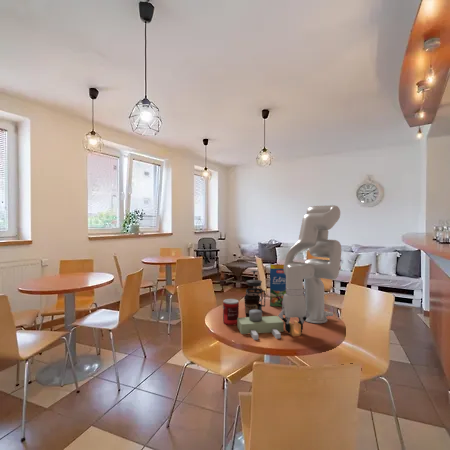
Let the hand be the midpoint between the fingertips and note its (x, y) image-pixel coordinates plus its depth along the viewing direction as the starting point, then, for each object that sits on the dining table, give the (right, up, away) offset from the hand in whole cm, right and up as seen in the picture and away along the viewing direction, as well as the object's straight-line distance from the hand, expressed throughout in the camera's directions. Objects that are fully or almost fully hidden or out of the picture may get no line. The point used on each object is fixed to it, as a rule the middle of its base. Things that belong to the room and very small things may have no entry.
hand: (293, 331), depth 128 cm
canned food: (-28, -1, +14) cm, 32 cm away
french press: (-14, -1, +33) cm, 36 cm away
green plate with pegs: (-14, -1, +1) cm, 14 cm away
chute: (0, -1, 0) cm, 1 cm away
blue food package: (+2, -1, +44) cm, 44 cm away
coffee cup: (-17, -1, +20) cm, 26 cm away
